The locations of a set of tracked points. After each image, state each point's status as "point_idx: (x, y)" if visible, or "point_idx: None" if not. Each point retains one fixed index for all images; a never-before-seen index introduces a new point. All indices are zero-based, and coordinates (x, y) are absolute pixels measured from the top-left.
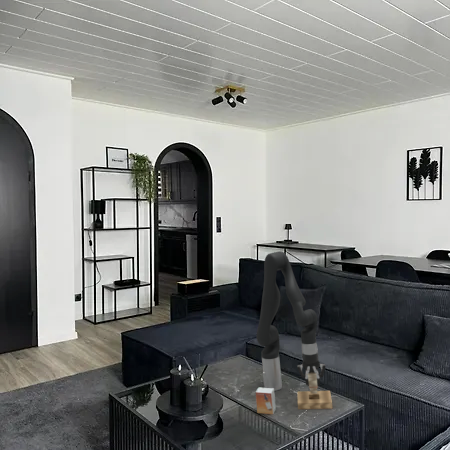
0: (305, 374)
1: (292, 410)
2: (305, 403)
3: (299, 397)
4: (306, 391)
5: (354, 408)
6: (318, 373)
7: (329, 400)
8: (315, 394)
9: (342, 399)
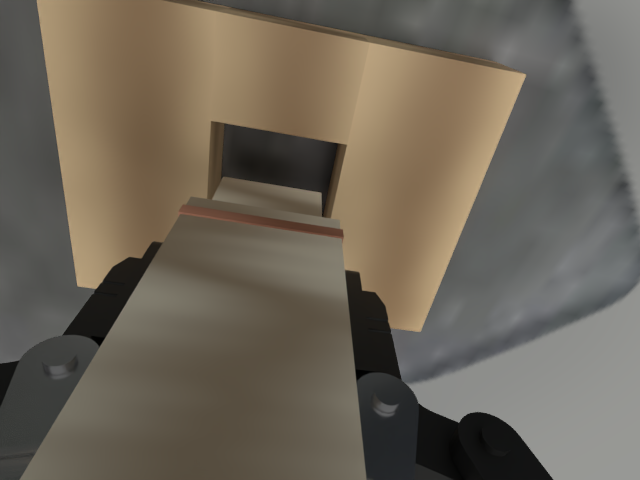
0: (7, 424)
1: (53, 256)
2: None
3: (85, 170)
4: (182, 10)
5: (573, 320)
6: (412, 464)
7: (412, 298)
8: (300, 136)
9: (578, 160)
